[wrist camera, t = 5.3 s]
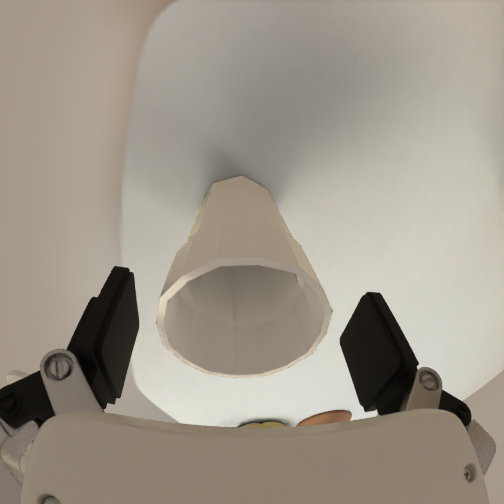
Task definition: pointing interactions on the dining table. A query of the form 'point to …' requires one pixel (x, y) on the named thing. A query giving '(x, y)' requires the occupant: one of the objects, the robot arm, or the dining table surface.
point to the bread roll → (264, 425)
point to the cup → (241, 289)
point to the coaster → (327, 418)
